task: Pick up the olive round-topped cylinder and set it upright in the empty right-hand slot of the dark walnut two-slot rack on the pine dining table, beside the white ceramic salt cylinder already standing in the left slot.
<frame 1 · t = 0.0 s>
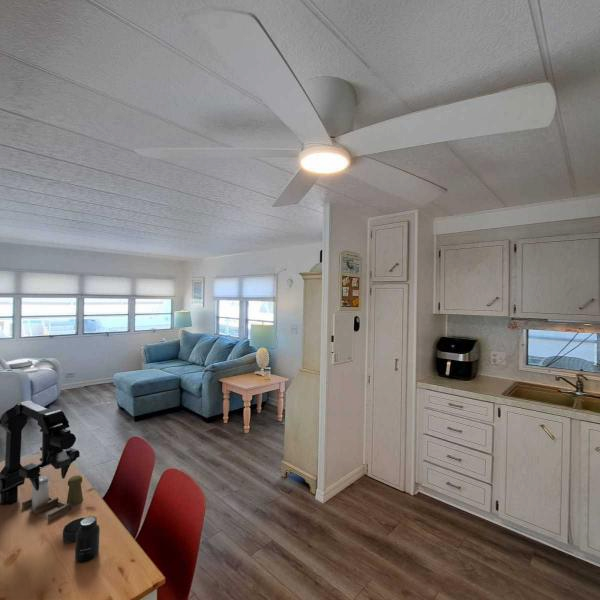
hand: (50, 484, 128), 15 cm above the table, fingers open, 9 cm apart
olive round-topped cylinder: (74, 503, 140), on the table
walnut slot rack: (46, 510, 134), on the table
black round bowl: (77, 535, 121), on the table
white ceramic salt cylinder: (40, 505, 136), point 1 cm above the table, touching walnut slot rack
supplement bottle: (87, 556, 111), on the table
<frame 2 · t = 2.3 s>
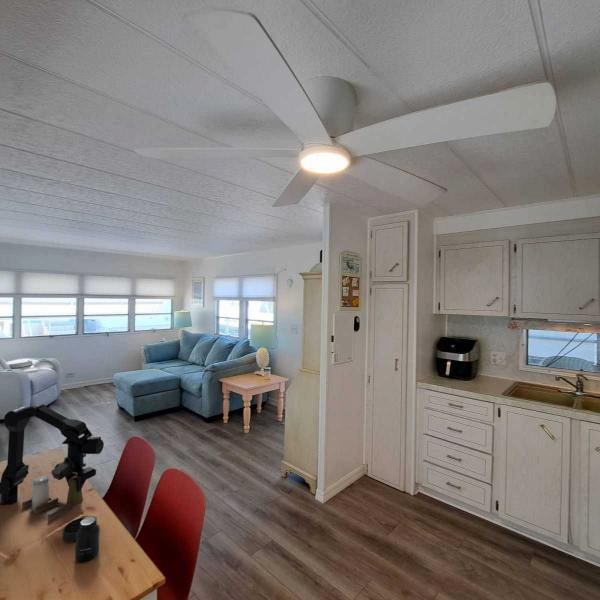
hand: (74, 490, 140), 6 cm above the table, fingers closed on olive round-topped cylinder, 5 cm apart
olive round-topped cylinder: (74, 503, 140), on the table, touching gripper
everything else where it was.
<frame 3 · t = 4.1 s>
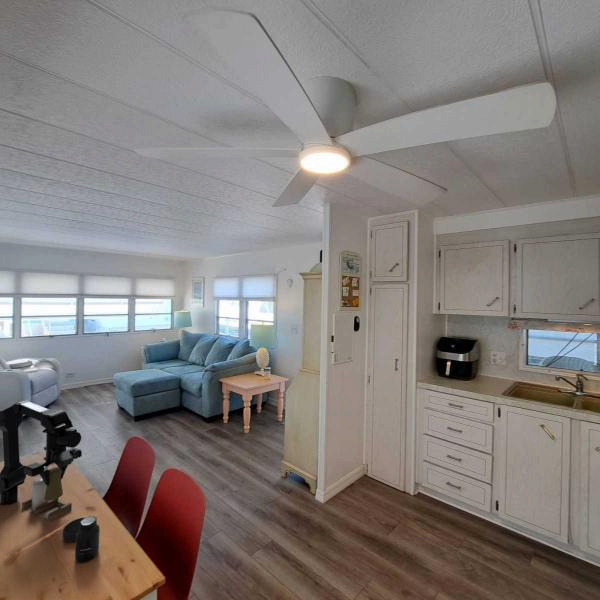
hand: (54, 482, 133), 13 cm above the table, fingers closed on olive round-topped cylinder, 5 cm apart
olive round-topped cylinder: (53, 496, 133), point 7 cm above the table, touching gripper
everything else where it was.
when the fingers open (7 cm above the table, at t = 5.7 s): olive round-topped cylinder drops 1 cm, resting on walnut slot rack.
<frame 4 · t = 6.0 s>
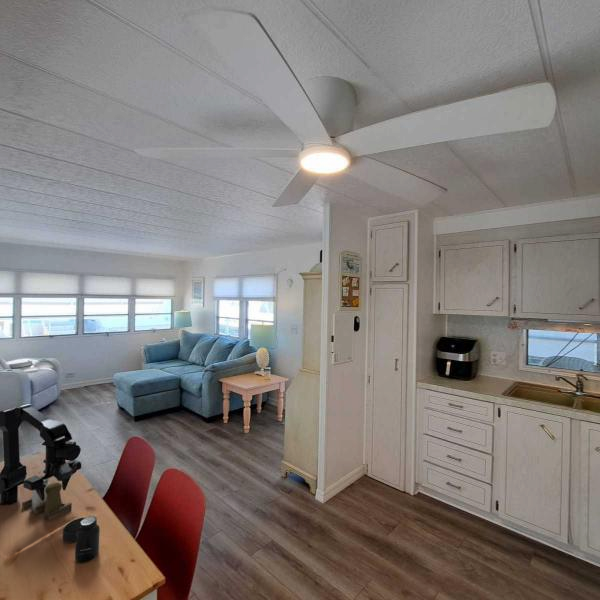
hand: (53, 495, 133), 7 cm above the table, fingers open, 8 cm apart
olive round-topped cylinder: (53, 512, 133), point 1 cm above the table, touching walnut slot rack
everything else where it was.
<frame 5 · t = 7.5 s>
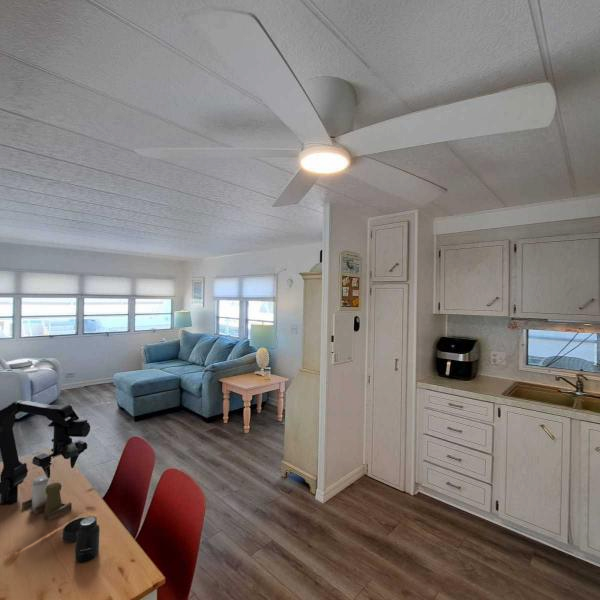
hand: (60, 472, 140), 13 cm above the table, fingers open, 9 cm apart
nothing on the table moved.
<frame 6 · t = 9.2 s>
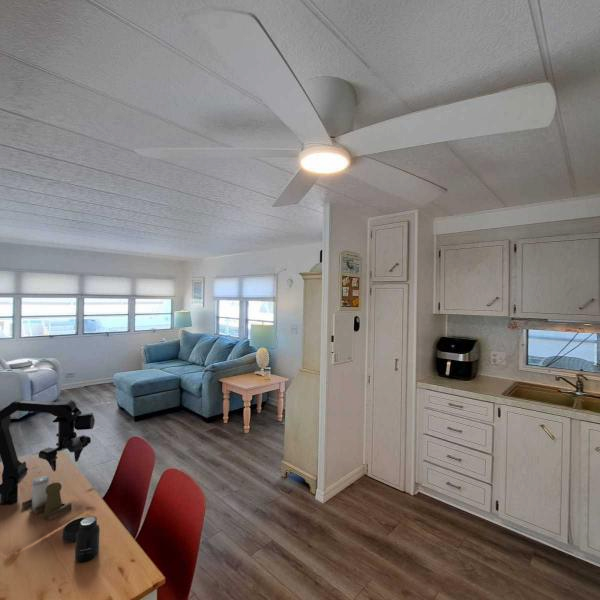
hand: (65, 466, 145), 13 cm above the table, fingers open, 9 cm apart
nothing on the table moved.
at the end: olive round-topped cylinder inside the target area on the walnut slot rack (0.2 cm from its centre), point 0.6 cm above the walnut slot rack's base; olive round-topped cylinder tilted 0°; the gripper is holding nothing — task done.
